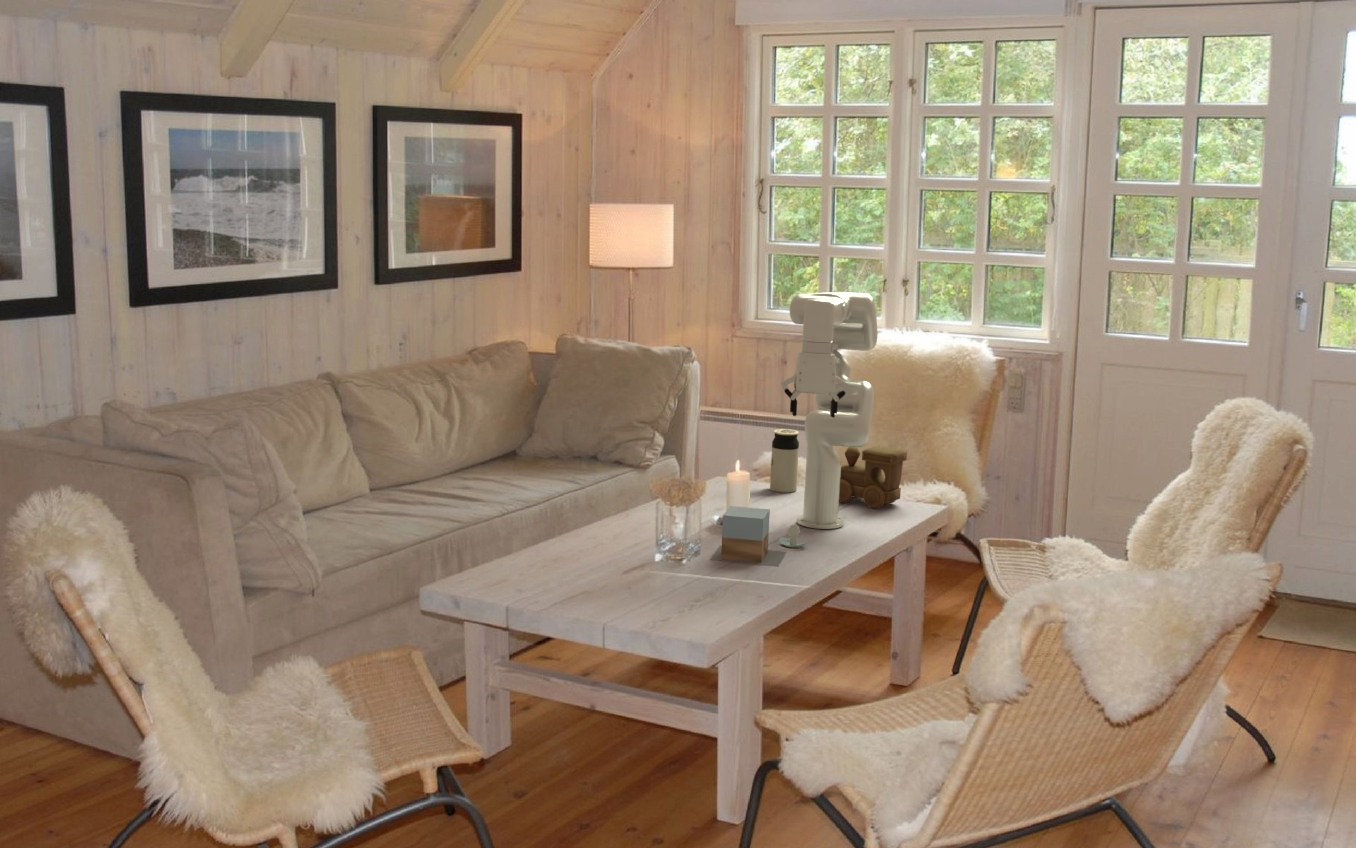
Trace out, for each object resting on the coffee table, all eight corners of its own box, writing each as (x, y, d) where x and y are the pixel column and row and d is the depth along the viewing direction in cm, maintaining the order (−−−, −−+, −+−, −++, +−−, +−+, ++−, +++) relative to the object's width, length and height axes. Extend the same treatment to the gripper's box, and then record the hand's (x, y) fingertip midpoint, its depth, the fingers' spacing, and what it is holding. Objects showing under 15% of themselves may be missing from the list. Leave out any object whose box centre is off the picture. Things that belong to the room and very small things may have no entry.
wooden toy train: (905, 505, 408) (909, 449, 405) (887, 512, 399) (891, 455, 396) (844, 494, 419) (847, 440, 416) (826, 501, 410) (829, 445, 407)
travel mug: (799, 488, 425) (802, 430, 421) (792, 494, 417) (795, 434, 414) (774, 485, 427) (777, 427, 424) (766, 491, 420) (769, 432, 417)
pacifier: (797, 555, 353) (809, 549, 358) (798, 531, 352) (810, 525, 357) (772, 549, 357) (784, 544, 362) (773, 526, 356) (785, 520, 361)
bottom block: (728, 548, 354) (729, 527, 353) (767, 552, 352) (768, 530, 351) (721, 558, 344) (721, 537, 343) (761, 562, 342) (762, 540, 341)
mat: (720, 547, 356) (720, 545, 356) (786, 553, 353) (786, 551, 353) (709, 562, 343) (709, 560, 343) (778, 568, 339) (778, 566, 339)
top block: (729, 527, 353) (730, 506, 352) (768, 530, 351) (769, 509, 350) (721, 537, 343) (722, 515, 342) (762, 540, 341) (763, 518, 340)
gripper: (849, 347, 355) (845, 414, 357) (781, 345, 354) (777, 412, 357) (853, 351, 347) (849, 419, 350) (784, 348, 347) (780, 417, 349)
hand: (813, 415), depth 353 cm, fingers open, 9 cm apart
